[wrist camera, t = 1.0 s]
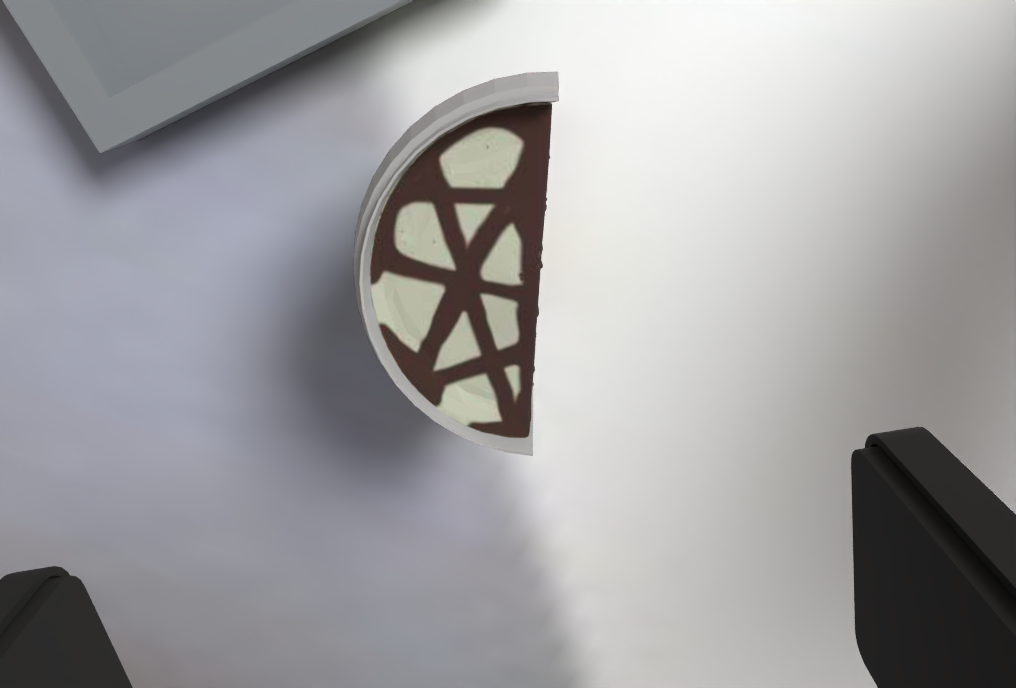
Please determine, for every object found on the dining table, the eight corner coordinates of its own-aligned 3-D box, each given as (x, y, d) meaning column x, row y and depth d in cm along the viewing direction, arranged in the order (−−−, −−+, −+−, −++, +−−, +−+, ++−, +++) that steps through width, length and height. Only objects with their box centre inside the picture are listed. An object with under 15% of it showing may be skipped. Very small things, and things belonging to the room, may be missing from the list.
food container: (391, 47, 31) (332, 64, 21) (551, 56, 31) (560, 77, 21) (393, 341, 35) (345, 459, 26) (531, 349, 35) (531, 469, 26)
